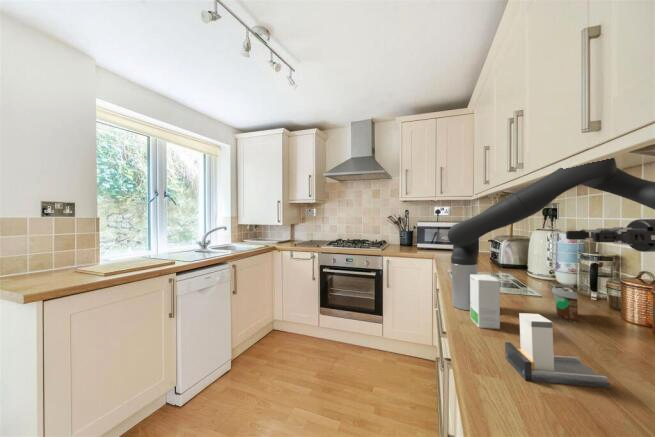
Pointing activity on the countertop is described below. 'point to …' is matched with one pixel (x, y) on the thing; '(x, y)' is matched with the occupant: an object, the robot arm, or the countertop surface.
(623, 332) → the countertop surface
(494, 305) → the skincare box
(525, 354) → the orange rectangular bar
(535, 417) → the countertop surface
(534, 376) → the dark grey open tray
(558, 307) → the food container
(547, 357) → the block
